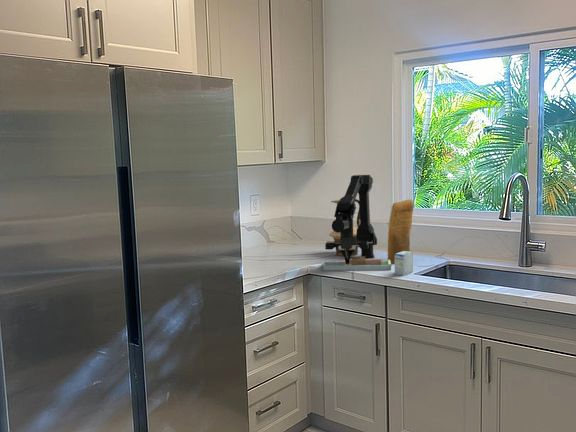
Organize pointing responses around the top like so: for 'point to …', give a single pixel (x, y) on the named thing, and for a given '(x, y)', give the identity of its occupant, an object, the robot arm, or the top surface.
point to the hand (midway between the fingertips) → (347, 264)
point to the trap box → (341, 265)
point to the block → (358, 261)
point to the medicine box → (403, 263)
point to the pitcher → (337, 235)
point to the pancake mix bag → (399, 228)
